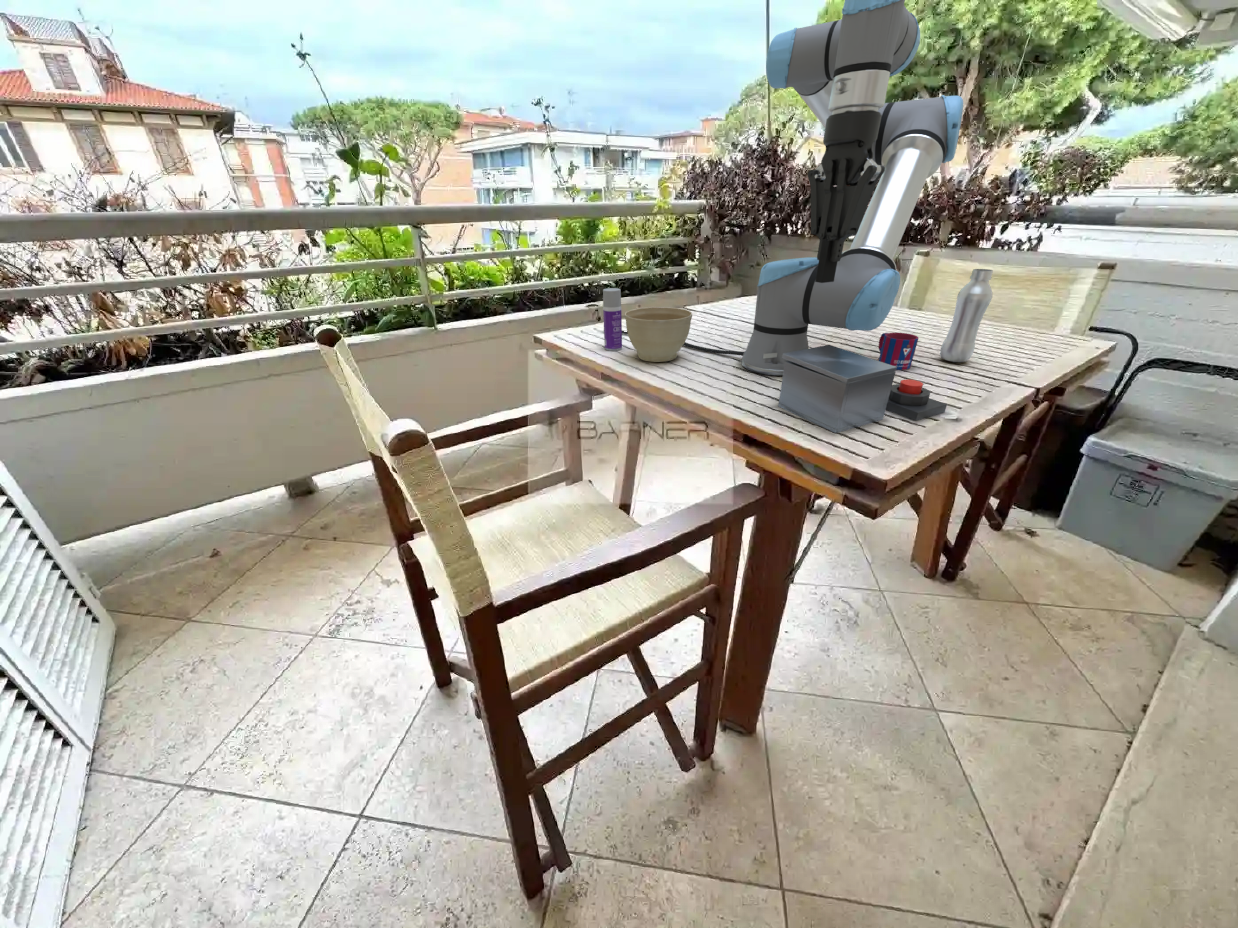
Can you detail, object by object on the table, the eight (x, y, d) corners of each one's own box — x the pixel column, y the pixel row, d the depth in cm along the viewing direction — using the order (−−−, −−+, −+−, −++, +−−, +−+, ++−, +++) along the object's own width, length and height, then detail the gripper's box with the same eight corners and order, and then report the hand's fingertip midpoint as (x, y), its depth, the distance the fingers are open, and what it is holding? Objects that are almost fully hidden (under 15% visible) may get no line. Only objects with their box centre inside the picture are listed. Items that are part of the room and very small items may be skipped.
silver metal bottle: (960, 357, 116) (990, 267, 106) (975, 365, 110) (1008, 272, 100) (932, 356, 116) (958, 268, 107) (945, 365, 110) (975, 272, 101)
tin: (777, 406, 91) (784, 361, 87) (822, 395, 96) (831, 352, 91) (835, 433, 80) (846, 383, 76) (882, 420, 85) (895, 371, 81)
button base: (866, 403, 92) (870, 385, 90) (894, 395, 95) (899, 378, 93) (915, 421, 84) (921, 403, 82) (944, 412, 87) (950, 394, 85)
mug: (886, 370, 108) (894, 340, 105) (866, 357, 117) (872, 329, 113) (916, 370, 108) (925, 339, 105) (893, 357, 117) (900, 328, 113)
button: (893, 390, 89) (896, 381, 88) (906, 387, 90) (909, 378, 89) (911, 396, 86) (914, 387, 85) (924, 393, 87) (927, 383, 86)
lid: (781, 357, 87) (782, 353, 87) (828, 348, 92) (829, 344, 91) (846, 383, 76) (847, 378, 76) (895, 371, 81) (897, 367, 80)
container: (615, 351, 126) (614, 291, 119) (601, 349, 128) (598, 290, 121) (625, 347, 129) (624, 288, 122) (610, 345, 132) (609, 287, 124)
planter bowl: (703, 358, 119) (706, 313, 114) (652, 371, 111) (653, 323, 106) (661, 345, 131) (662, 303, 125) (612, 356, 123) (611, 312, 117)
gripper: (802, 118, 75) (780, 279, 86) (874, 104, 65) (838, 289, 76) (838, 120, 78) (812, 275, 89) (912, 107, 67) (872, 285, 79)
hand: (824, 281), depth 82 cm, fingers closed
